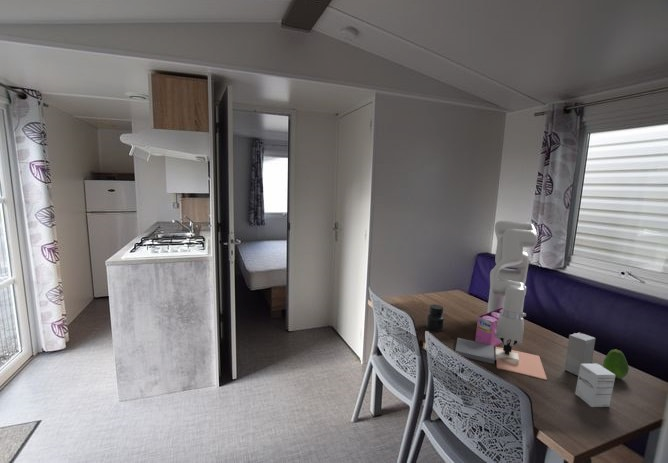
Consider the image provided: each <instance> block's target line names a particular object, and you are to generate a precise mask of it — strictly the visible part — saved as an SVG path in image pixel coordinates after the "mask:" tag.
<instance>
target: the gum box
mask: <svg viewBox="0 0 668 463" xmlns="http://www.w3.org/2000/svg"><path fill="white" fill-rule="evenodd" d="M502 311H503V308H499V309H496V310H494V311H492V312H489V313H487V312H486V313H484V314H481V315H478V316H477V321H476V322H477V323H476V324H477V325H476V332H475V340H474V341H475V342H480V343H485V344H489V345H494V347H495V346H496V347H497V346H499V345H500V344H502V343H503V342H502V341H501V340H499V339H497V338H495V335H496V333H497V332H496V330H497V324H498V319H499V316H500V314H501V313H502ZM508 340H509V341H510V339H507V341H508Z"/></svg>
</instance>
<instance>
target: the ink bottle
mask: <svg viewBox="0 0 668 463" xmlns="http://www.w3.org/2000/svg"><path fill="white" fill-rule="evenodd" d="M425 323H426V324H425V327H426V329H428V330H429V331H433V332H442V331H443V330H444V326H445V316H444V306H442V305H440V304H434V303H433V304H430V306H429V312H428V314H427V315H426V322H425Z"/></svg>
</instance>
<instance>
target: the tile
mask: <svg viewBox="0 0 668 463" xmlns="http://www.w3.org/2000/svg"><path fill="white" fill-rule="evenodd" d="M494 358H495V361H496V360H499V361H503V362H507V363H512V364H516V365H518V364H519V356H518V353H514V352H509V355H508V354H505V351H503V350H501V349H495V348H494Z"/></svg>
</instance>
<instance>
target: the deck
mask: <svg viewBox="0 0 668 463" xmlns="http://www.w3.org/2000/svg"><path fill="white" fill-rule="evenodd" d="M455 351H456V352H458V353H459V354H461V355H463V356H465V357H464V358H468V359H472V360H476V361H480V362H484V363H488V364H489V363H490V364H494V365H495V361H496V360H495V346H494V345H489V344H485V343H480V342H475V340H471V339H470V340H469V339H465V338H460V337H457V340H456V345H455ZM463 356H462V357H463Z"/></svg>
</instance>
